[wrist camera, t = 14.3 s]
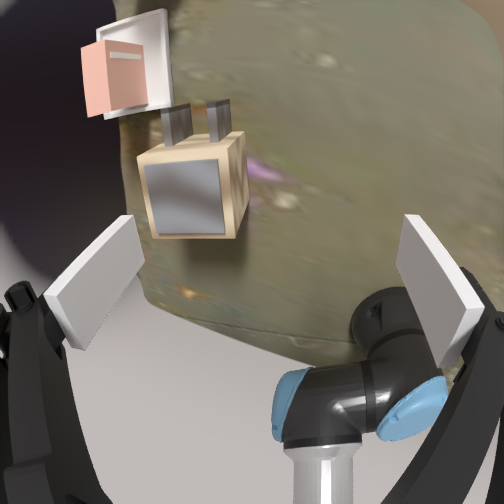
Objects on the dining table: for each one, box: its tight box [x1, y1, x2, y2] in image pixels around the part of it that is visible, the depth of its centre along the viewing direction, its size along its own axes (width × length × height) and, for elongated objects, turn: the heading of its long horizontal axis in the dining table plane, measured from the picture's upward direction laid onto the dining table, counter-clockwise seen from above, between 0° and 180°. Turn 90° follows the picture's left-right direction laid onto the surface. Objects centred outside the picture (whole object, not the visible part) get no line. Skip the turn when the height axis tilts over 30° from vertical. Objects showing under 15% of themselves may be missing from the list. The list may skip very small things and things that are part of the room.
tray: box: [96, 8, 175, 120], centre depth 34 cm, size 15×11×2 cm
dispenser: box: [137, 99, 249, 239], centre depth 35 cm, size 15×10×13 cm
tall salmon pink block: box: [81, 39, 148, 117], centre depth 31 cm, size 9×4×10 cm, turn 4°
